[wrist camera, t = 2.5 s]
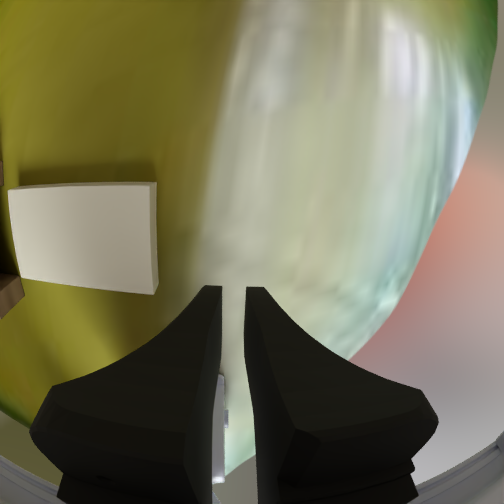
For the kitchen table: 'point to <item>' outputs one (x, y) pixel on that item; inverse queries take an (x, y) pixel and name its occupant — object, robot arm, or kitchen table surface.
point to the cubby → (9, 282)
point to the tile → (87, 234)
